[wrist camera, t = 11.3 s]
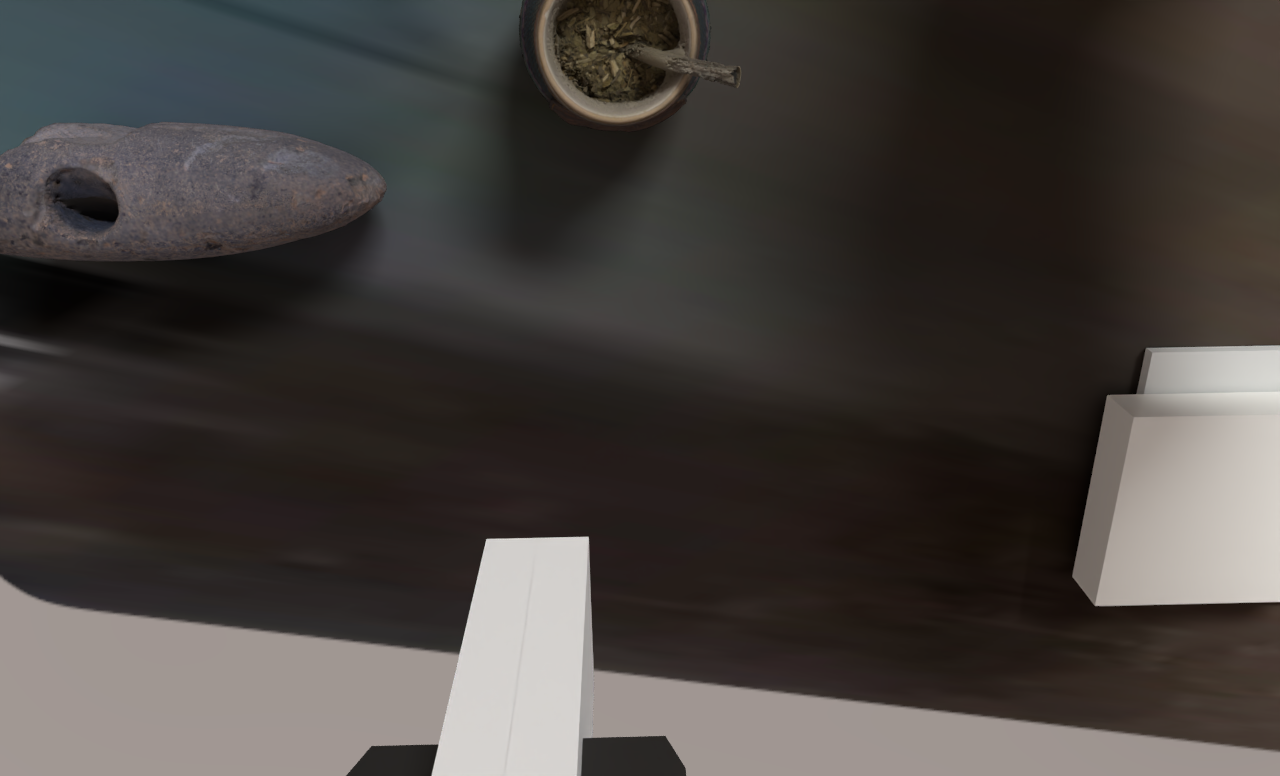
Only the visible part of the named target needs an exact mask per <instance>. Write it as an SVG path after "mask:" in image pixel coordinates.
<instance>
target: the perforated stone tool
mask: <svg viewBox="0 0 1280 776" xmlns="http://www.w3.org/2000/svg"><path fill="white" fill-rule="evenodd" d="M386 187H387V186H386V183H385V181H384V178H383V177H382V176H381V175H380V174H379V173H378V171H377V170H376V169H374V168H373V167H372V166H371V165H369V164H368V163H366V162H365V161H363V160H361V159H359V158H357V157H355V156H353V155H351V154H349V153H346V152H344V151H342V150H339V149H337V148H334V147H331V146H328V145H325V144H323V143H321V142H317V141H314V140H311V139H307V138H304V137H300V136H297V135H292V134H288V133H283V132H277V131H270V130H263V129H255V128H247V127H236V126H227V125H212V124H199V123H174V122H160V123H151V124H148V125H145V126H144V127H140V128H133V127H127V126H120V125H112V124H102V123H98V124H88V123H53V124H51V125H48V126H45V127H42V128H40V129H39V130H38V131H37V132H36V133H35V134H34V136H32V137H28V138H26V139H25V140H24V141H23V142H22V144H21V145H20V146H19V147H16V148H14V149H10V150H7V151H6V152H5V153H3V154H2V155H0V254H7V255H15V256H24V257H33V258H46V259H59V260H74V261H165V260H182V259H196V258H205V257H215V256H224V255H231V254H237V253H244V252H249V251H255V250H261V249H265V248H270V247H273V246H277V245H282V244H286V243H290V242H293V241H297V240H300V239H304V238H309V237H314V236H317V235H320V234H323V233H326V232H329V231H332V230H334V229H337V228H339V227H344V226H345V225H347V224H348V223H349V222H352V221H353V220H356V219H357V218H358V217H360V216H362V215H363V214H365V213H366V212H367V211H369V210H371V209H372V208H373V207H374V206H375V205H377V203H379V202H380V201H382V198H383V197H384V194H385V192H386V190H387V189H386Z"/></svg>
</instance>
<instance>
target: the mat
mask: <svg viewBox="0 0 1280 776" xmlns="http://www.w3.org/2000/svg"><path fill="white" fill-rule="evenodd" d="M1233 392H1280V346H1226V347H1172V348H1146V350H1145V355H1144V360H1143V365H1142V369H1141V374H1140V379H1139V384H1138V389H1137V394H1182V393H1233ZM1242 603H1260V602H1242ZM1199 604H1217V603H1199ZM1156 605H1174V604H1156ZM1113 606H1131V605H1113Z"/></svg>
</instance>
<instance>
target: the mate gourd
mask: <svg viewBox="0 0 1280 776" xmlns="http://www.w3.org/2000/svg"><path fill="white" fill-rule="evenodd" d="M519 18H520V25H519V35H520V45H521V48H522V53H523V54H522V56H523V58H524V62H525V65H526V67H527V70H528V72H529V74H530V77H531V78H532V80H533V81H534V83H535V85H536V87H537V89H538V90H539V91H540V93H541V94H542V96H543V97H545V98H546V99H547V101H548V102H549V108H550V109H551V110H553V111H554V112H556V113H557V114H558V115H559V116H560V117H561V118H562V119H563V120H564V121H566V122H567V123H569V124H571V125H576V126H586V127H589V128H593V129H598V130H604V131H618V130H620V131H627V132H633V131H638V130H642V129H646V128H649V127H651V126H653V125H655V124H658V123H659V122H661V121H664V120H665V119H667V118H669V117H670V116H672V115H673V114H674V113H676V112H677V111H678V110H679V109H680V108H681V107H682V106H683V105H684V104H685V103H686V102H687V100H686V98H687V96H688V95H689V94H690V93H691V92H692V91H693V89H694V88H695V86H696V84H697V82H698V80H699V78H700V77H701V78H703V79H705V80H709V81H712V82H714V81H718V82H720V83H723V84H725V85H729V86H733V87H736V88H738V87H739V85H740V79H741V68H740V66H730V65H729V66H725V65H723V64H720V63H716V62H709V61H707V55H708V52H709V48H710V46H709V45H710V32H711V31H710V30H711V26H710V19H709V11H708V7H707V3H706V0H523V1H522V7H521V12H520V15H519Z"/></svg>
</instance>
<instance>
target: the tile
mask: <svg viewBox="0 0 1280 776" xmlns="http://www.w3.org/2000/svg"><path fill="white" fill-rule="evenodd" d="M1072 577H1073V578H1074V579H1075V581H1076V582H1077V583H1078V585H1079V586H1080V587H1081V589H1082V590H1083V591H1084V592H1085V594H1086V595H1087V596H1088V598H1089V599H1090V600H1091V602H1092V603H1093V604H1094V605H1095V606H1113V605H1156V604H1199V603H1242V602H1280V392H1233V393H1182V394H1130V395H1107V399H1106V404H1105V409H1104V414H1103V420H1102V425H1101V430H1100V435H1099V440H1098V445H1097V451H1096V456H1095V461H1094V466H1093V471H1092V477H1091V482H1090V487H1089V492H1088V497H1087V502H1086V508H1085V513H1084V518H1083V523H1082V528H1081V534H1080V539H1079V544H1078V549H1077V554H1076V559H1075V565H1074V570H1073V575H1072Z"/></svg>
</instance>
